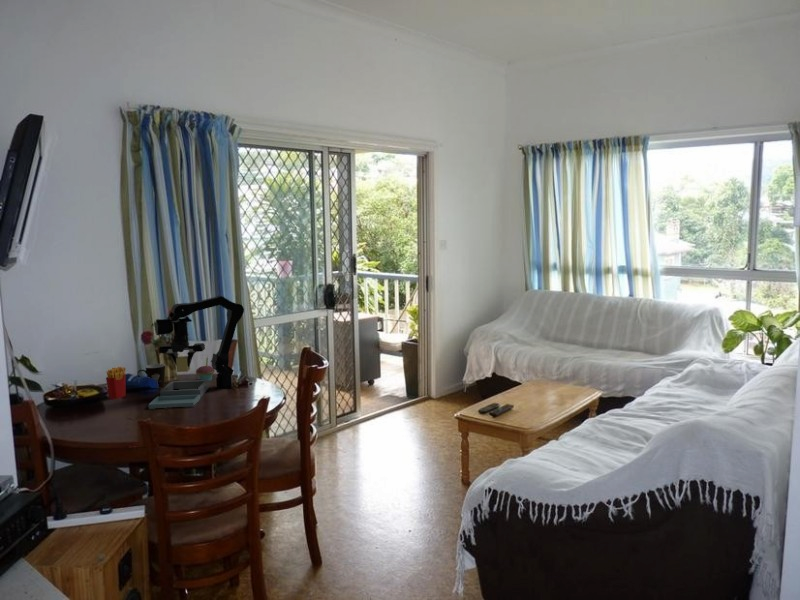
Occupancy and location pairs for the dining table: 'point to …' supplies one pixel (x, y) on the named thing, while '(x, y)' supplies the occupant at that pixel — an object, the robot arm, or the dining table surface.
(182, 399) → the tray
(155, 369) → the coffee mug
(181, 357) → the block
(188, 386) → the bin
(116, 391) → the french fries
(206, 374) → the cupcake
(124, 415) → the dining table surface
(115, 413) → the dining table surface
